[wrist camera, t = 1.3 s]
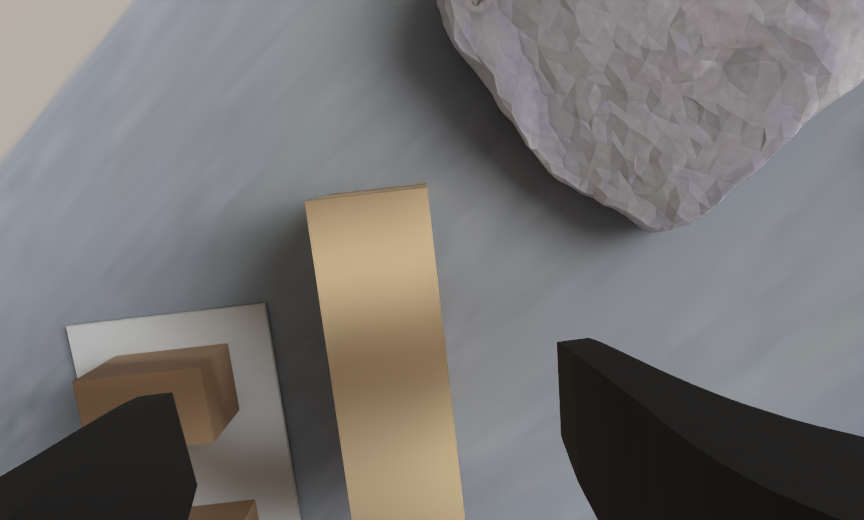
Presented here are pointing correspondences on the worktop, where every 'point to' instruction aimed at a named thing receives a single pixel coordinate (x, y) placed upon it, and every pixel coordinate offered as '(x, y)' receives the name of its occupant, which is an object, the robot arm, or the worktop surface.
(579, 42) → the stone block
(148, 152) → the worktop surface
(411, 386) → the lintel
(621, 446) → the robot arm
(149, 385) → the base with blocks
